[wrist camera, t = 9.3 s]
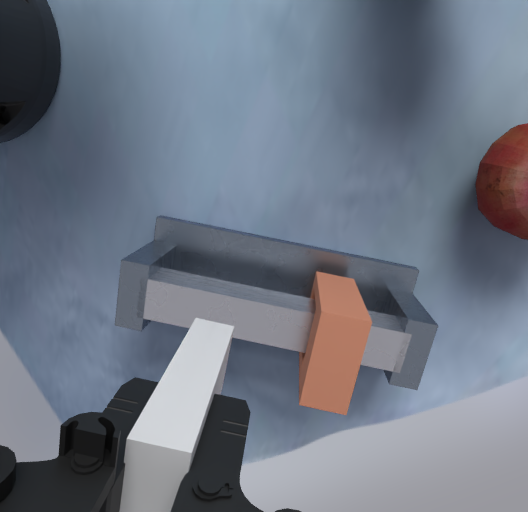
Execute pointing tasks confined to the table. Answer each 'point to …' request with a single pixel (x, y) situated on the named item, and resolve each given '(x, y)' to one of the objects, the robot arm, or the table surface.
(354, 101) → the table surface
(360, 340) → the terracotta rectangular block
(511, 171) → the fruit
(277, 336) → the grey rail frame
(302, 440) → the table surface
